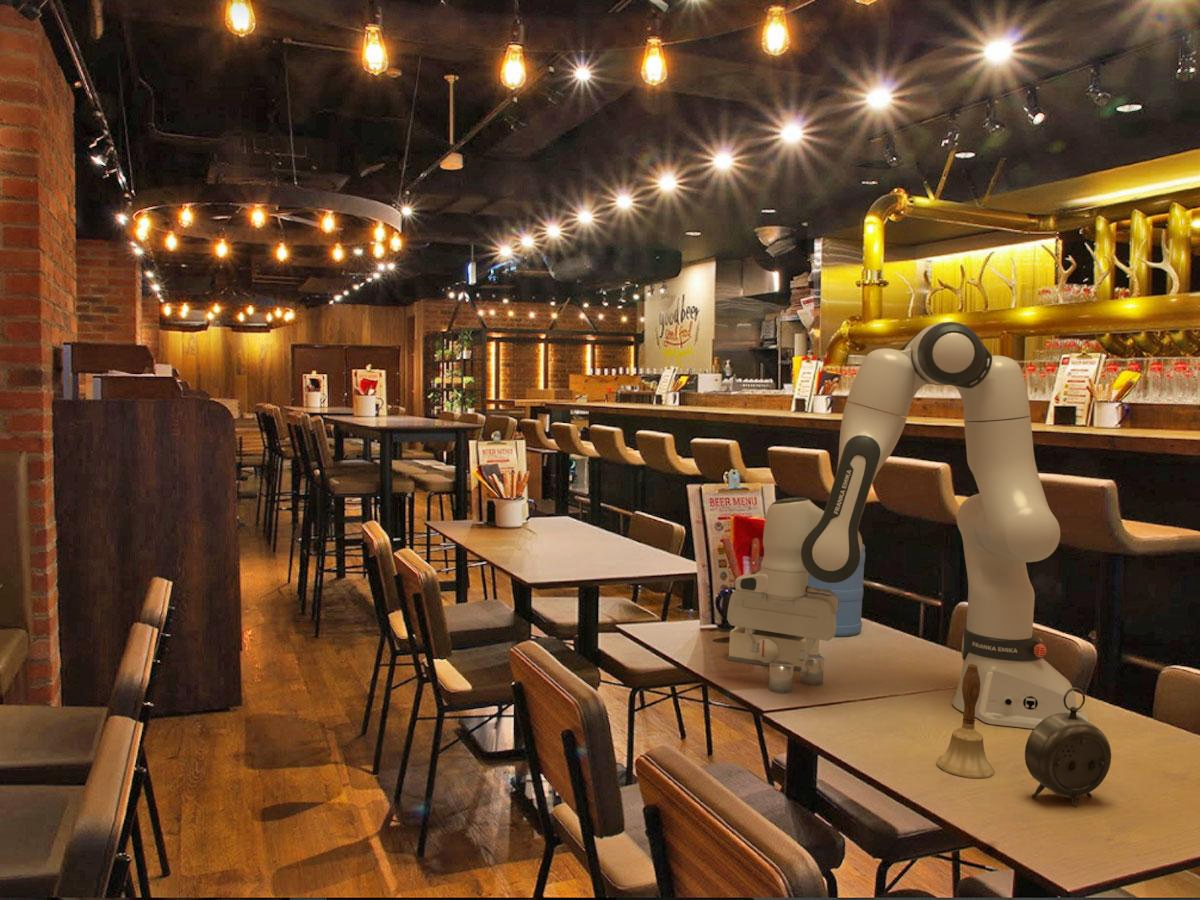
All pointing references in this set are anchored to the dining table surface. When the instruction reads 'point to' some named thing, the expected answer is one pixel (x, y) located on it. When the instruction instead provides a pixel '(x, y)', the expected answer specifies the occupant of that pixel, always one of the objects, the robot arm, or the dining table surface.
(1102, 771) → the alarm clock
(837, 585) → the water jug
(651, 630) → the dining table surface
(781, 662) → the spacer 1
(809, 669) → the small glass cup
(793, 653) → the scale body
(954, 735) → the hand bell
